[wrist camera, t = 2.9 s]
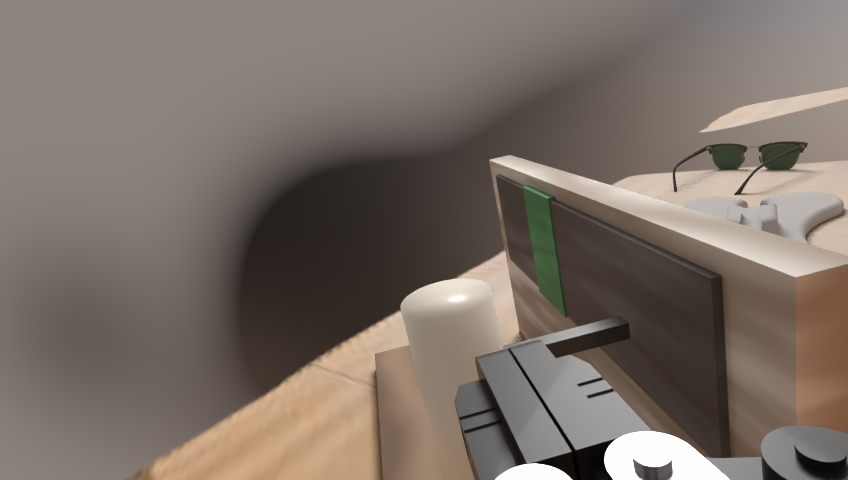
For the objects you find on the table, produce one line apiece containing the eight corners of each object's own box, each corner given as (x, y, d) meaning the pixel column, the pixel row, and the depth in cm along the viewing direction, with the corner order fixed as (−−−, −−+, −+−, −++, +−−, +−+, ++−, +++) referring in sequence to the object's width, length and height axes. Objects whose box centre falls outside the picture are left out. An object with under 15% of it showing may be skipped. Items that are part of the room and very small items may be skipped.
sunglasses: (657, 193, 89) (655, 165, 88) (709, 169, 97) (708, 143, 96) (757, 198, 75) (756, 166, 74) (808, 170, 83) (808, 140, 82)
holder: (639, 307, 52) (634, 263, 50) (681, 210, 78) (679, 179, 77) (887, 322, 41) (890, 265, 39) (838, 203, 67) (839, 166, 66)
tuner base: (413, 837, 18) (263, 416, 13) (378, 366, 50) (332, 196, 45) (846, 697, 19) (861, 260, 14) (537, 325, 51) (509, 155, 47)
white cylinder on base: (458, 636, 22) (380, 346, 18) (437, 527, 28) (375, 290, 24) (682, 569, 23) (656, 276, 19) (617, 477, 29) (587, 237, 25)
